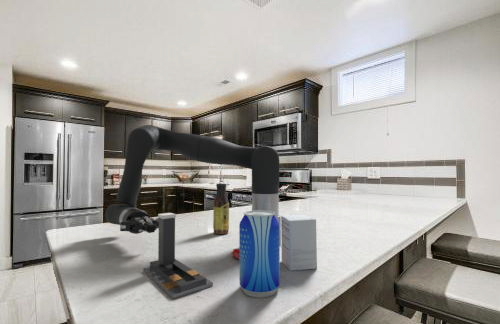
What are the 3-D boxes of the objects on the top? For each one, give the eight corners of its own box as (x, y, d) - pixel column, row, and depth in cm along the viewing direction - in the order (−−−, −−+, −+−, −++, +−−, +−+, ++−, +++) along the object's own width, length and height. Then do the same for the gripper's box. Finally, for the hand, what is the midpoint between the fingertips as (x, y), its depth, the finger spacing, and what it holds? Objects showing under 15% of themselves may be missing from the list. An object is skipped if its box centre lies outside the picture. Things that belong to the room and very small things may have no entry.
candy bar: (279, 270, 65) (279, 258, 65) (269, 274, 62) (269, 262, 62) (239, 255, 77) (239, 245, 77) (229, 258, 74) (229, 247, 74)
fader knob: (157, 266, 65) (157, 213, 65) (169, 263, 67) (169, 212, 67) (163, 270, 61) (163, 215, 62) (175, 267, 63) (176, 214, 64)
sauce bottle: (226, 235, 99) (226, 183, 100) (210, 234, 101) (211, 183, 101) (230, 231, 106) (230, 183, 107) (216, 230, 107) (216, 183, 108)
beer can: (238, 281, 58) (238, 210, 58) (275, 280, 58) (275, 209, 59) (240, 300, 49) (240, 216, 50) (283, 298, 50) (283, 215, 51)
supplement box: (306, 259, 72) (305, 214, 73) (317, 269, 65) (317, 218, 65) (280, 261, 71) (280, 215, 71) (289, 271, 64) (289, 219, 64)
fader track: (143, 271, 64) (143, 262, 64) (177, 263, 70) (177, 255, 70) (172, 299, 50) (173, 288, 50) (212, 285, 56) (212, 275, 56)
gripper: (154, 228, 89) (174, 238, 76) (111, 234, 81) (126, 246, 68) (154, 206, 90) (174, 213, 76) (112, 210, 81) (126, 218, 68)
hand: (152, 228), depth 72 cm, fingers closed
